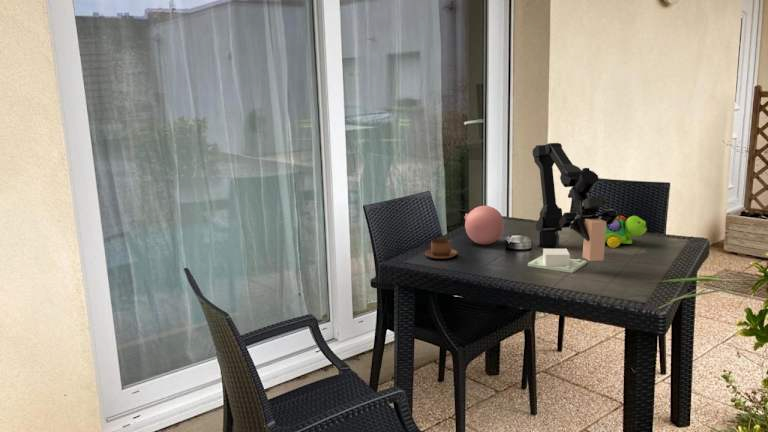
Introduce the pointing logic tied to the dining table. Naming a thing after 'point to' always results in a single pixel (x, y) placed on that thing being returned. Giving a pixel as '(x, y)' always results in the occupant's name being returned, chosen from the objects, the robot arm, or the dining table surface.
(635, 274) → the dining table surface
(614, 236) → the turtle toy
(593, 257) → the column brick
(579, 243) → the dining table surface
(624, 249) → the dining table surface
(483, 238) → the balloon
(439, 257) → the cup and saucer
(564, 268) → the tower base
